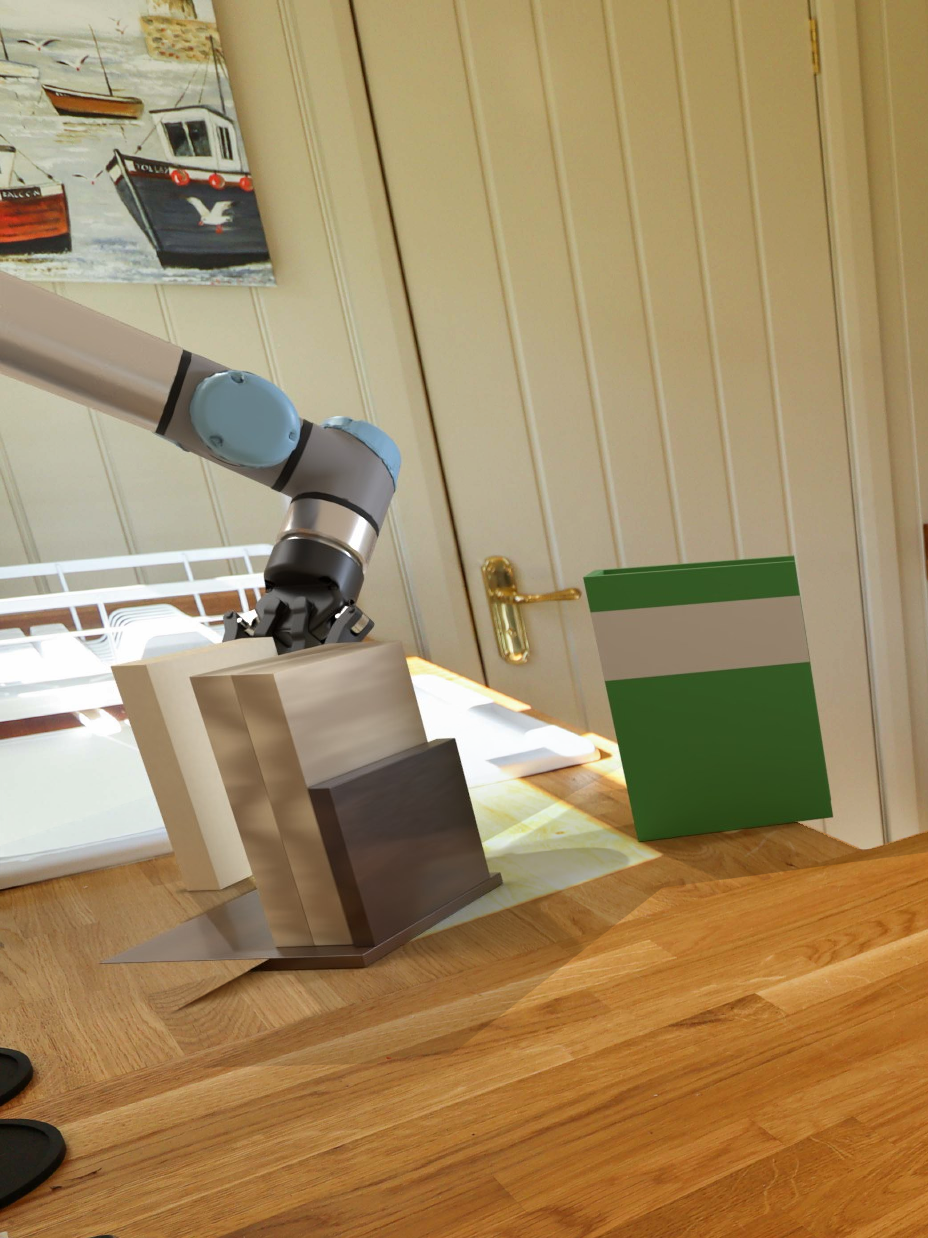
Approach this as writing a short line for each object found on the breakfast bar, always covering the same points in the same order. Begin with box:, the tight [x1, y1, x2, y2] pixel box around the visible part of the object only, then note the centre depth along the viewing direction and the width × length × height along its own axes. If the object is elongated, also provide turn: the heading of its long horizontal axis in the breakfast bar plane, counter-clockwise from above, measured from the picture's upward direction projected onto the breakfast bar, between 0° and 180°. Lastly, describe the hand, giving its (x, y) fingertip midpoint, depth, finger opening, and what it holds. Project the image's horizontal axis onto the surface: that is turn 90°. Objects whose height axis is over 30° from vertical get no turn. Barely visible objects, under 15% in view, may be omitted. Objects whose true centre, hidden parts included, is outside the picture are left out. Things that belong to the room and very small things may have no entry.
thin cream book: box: [110, 637, 278, 892], centre depth 111 cm, size 3×14×20 cm, turn 178°
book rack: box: [98, 639, 504, 972], centre depth 96 cm, size 20×18×21 cm
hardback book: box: [582, 554, 834, 843], centre depth 119 cm, size 18×7×24 cm, turn 107°
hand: (245, 771), depth 112 cm, fingers closed on thin cream book, 3 cm apart
